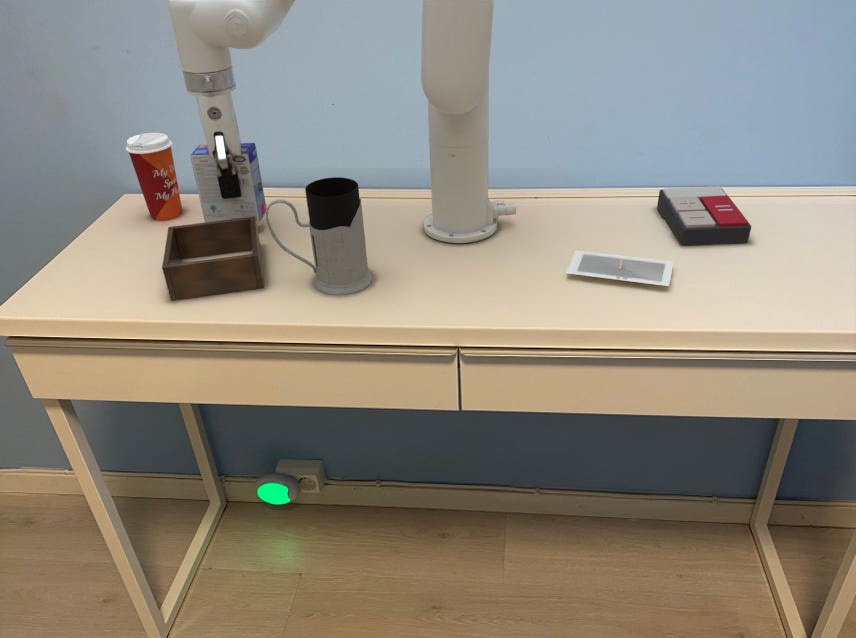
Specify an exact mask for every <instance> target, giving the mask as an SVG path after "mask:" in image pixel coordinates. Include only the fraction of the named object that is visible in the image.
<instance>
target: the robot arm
mask: <svg viewBox="0 0 856 638" xmlns="http://www.w3.org/2000/svg"><path fill="white" fill-rule="evenodd" d="M295 2H296V0H168V10H169V11H168V12H169V15H170V20H171V24H172V29H173V33H174V39H175V43H176V48H177V52H178V57H179V61H180V66H181V71H182V75H183V81H184V84H185V89H186V93H187V94H189V95H191V96H195V98H196V103H197V109H198V113H199V118H200V122H201V127H202V132H203V134H204V139H205V142H206V145H207V147H208V150H209V154H210V157H212V158H214V159H215V161H216V167H217V172H218V175H217V178H218V183H219V187H220V192H221V197H222V198H223V199H228V198H237V197H241V190H240V184H239V179H238V174H237V173H235V167H234V161H233V155H237V156H240V154H241V143H242V140H241V135H240V131H239V126H238V125H239V124H238V121H237V115H236V110H235V105H234V99H233V96H232V92H233V91H235V90H236V89H237V84H236V78H235V73H234V66H233V62H232V56H231V51H230V50H231V49H238V50H250V49H254V48H257V47H259V46H261V45H262V44H263V43H264V42H265V41H266V40H267V39H268V38H269V37H270V36H271V35H273V34H274V33H275V32H276V31H277V30H278V29H279V27H280V26H281V25H282V23H283V22H284V21H285V18H286V17H287V15H288V13H289V11H290V10H291V9H292V6H293V5H294V4H295ZM494 3H495V0H422V11H421V12H422V13H421V14H422V15H421V17H422V18H421V61H420V62H421V65H420V80H421V81H420V82H421V87H422V90H423V94H424V95H425V97H426V99H427V118H428V120H427V121H428V148H429V170H430V171H429V172H430V173H429V174H430V196H431V213H430V214H429V215H428V216H427V217H426V218H425V219H424V221H423V230H424V233H425V234H426V236H428V237H429V238H432V239H433V240H437V241H439V242H444V243H450V244H467V243H475V242H478V241H482V240H485V239H487V238H489V237H491V236H492V235H494V233H496V231H497V230H498V220H497V219H499V217H500V216H501V217H502V216H512V215H516V214H517V206H516V203H515V202H511V203H505V200H504V199H498V200H495V201H491V200H490V199H489V136H490V135H489V132H490V130H489V125H490V123H489V120H490V119H489V117H490V115H489V113H490V112H489V109H490V108H489V107H490V106H489V103H490V101H489V99H490V96H489V92H490V63H491V48H492V35H493V34H492V33H493V21H494ZM223 134H224V135H223ZM224 140H225V141H224ZM227 151H229V153H230V155H226V152H227ZM217 153H218V156H217ZM232 154H233V155H232ZM227 159H230V163H229V162H228V161H227Z"/></svg>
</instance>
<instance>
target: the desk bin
mask: <svg viewBox="0 0 856 638" xmlns="http://www.w3.org/2000/svg"><path fill="white" fill-rule="evenodd" d="M247 251H251V253H249V254H241V255H233V256H226V257H225V256H224V257H218V258H211V259H210V258H208V259H203V260H194V261H193V260H192V261H186V262H182V260H184V259H192V258H200V257H208V256H216V255H224V254H231V253H239V252H247ZM262 256H263V255H262V246H261V240H260V235H259V229H258V224H257V222H256V219H255V216H254V217H246V218H238V219H230V220H222V221H213V222H205V221H204V222H198V223H191V224H190V223H189V224H182V225H174V226H173V225H172V226H168V227H167V234H166V240H165V247H164V253H163V259H162V260H163V261H162V266H161V269H162V273H163V277H164V280H165V284H166V287H167V291H168V294H169V298H170V301H172V302H173V301H179V300H187V299H192V298H199V297H200V298H201V297H208V296H214V295H221V294H229V293H236V292H243V291H250V290H251V291H252V290H258V289H265V282H264V281H265V279H264V269H263V257H262Z"/></svg>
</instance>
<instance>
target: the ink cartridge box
mask: <svg viewBox="0 0 856 638" xmlns="http://www.w3.org/2000/svg"><path fill="white" fill-rule="evenodd" d="M223 135H224V134H223ZM224 141H225V140H224ZM226 155H230V153H229V151H227V152H226ZM232 155H233V154H232ZM217 156H218V153H217ZM189 157H190V162H191V166H192V171H193V174H194V175H193V176H194V179H195V184H196V189H197V193H198V198H199V202H200V206H201V211H202V216H203V222H204V223H205V222H213V221H222V220H230V219H238V218H246V217H254V216H255V219H256V223H260V222H261V221H262V219H263V218H264V216H266V209H267V202H266V195H265V192H264V186H263V179H262V175H261V169H260V163H259V157H258V151H257V146H256V143H255V142H244V143H243V142H241V154H240V156H237V155H233V161H234V167H235V173H237V174H238V179H239V184H240V190H241V197H237V198H228V199H223V198H222V197H221V192H220V187H219V183H218V178H217V175H218V172H217V167H216V161H215V159H214V158H212V157H210V154H209V150H208V147H207V144H199V145H198V146H196V148H195V149H194V150H193V151H192V153H191V154H189ZM227 161H228V162H229V163H230V159H227Z"/></svg>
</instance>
